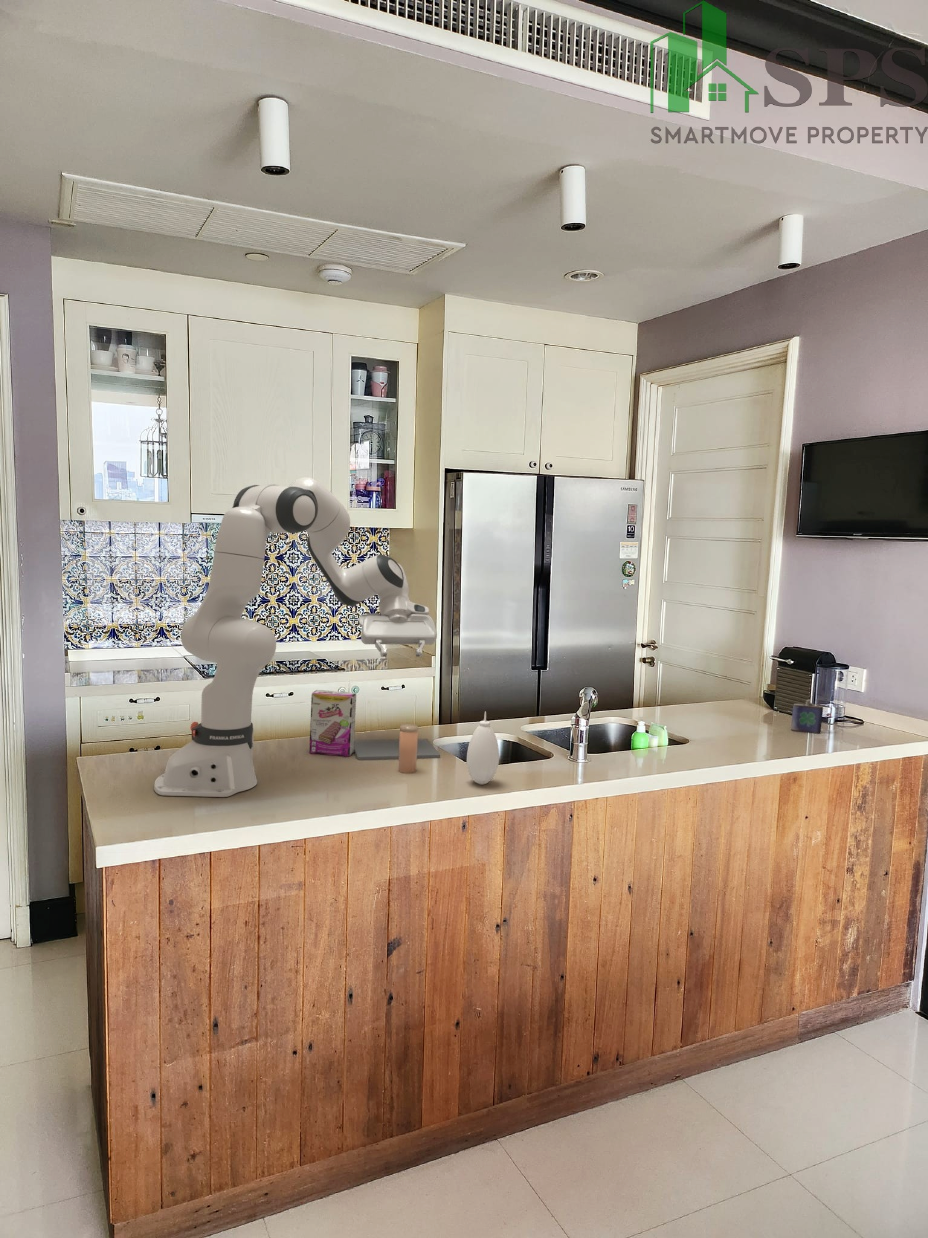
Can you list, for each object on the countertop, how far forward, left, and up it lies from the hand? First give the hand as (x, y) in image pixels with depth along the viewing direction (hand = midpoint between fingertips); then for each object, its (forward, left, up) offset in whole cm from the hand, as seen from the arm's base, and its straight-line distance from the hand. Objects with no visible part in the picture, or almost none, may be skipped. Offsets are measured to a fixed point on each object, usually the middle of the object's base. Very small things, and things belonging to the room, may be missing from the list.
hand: (401, 655), depth 219 cm
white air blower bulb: (+16, -25, -27) cm, 40 cm away
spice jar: (0, -13, -27) cm, 30 cm away
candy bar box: (-17, +4, -27) cm, 32 cm away
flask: (+139, +15, -27) cm, 142 cm away
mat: (0, +5, -27) cm, 27 cm away
